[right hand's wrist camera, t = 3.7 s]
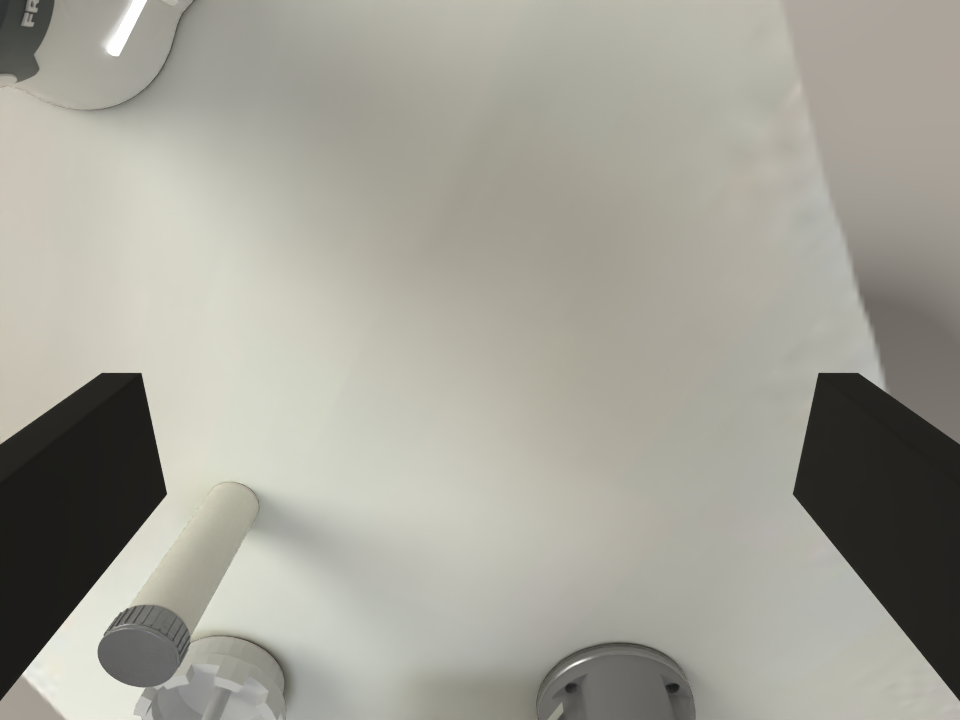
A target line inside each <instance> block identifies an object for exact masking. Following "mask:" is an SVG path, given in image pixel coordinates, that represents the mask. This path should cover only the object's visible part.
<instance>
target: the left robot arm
mask: <svg viewBox="0 0 960 720" xmlns="http://www.w3.org/2000/svg"><path fill="white" fill-rule="evenodd" d="M193 1H194V0H0V87H6V86H9V87H12V88H16V89H19V90H22V91H25V92H27V93H29V94H30V95H32V96H34V97H36V98H38V99H41V100H43V101H45V102H48V103H51V104H54V105H57V106H61V107H65V108H70V109H78V110H95V109H103V108H108V107H112V106H115V105H118V104H120V103H123V102H125V101H127V100H129V99H131V98H132V97H134V96H136V95H137V94H138V93H140V92H141V91H142V90H143V89H145V88H146V87H147V86H148V85H149V84H150V83H151V82H152V81H153V79H154V78H155V77H156V76H157V74H158V73H159V71H160V70H161V68H162V66H163V64H164V63H165V61H166V59H167V56H168V54H169V51H170V49H171V46H172V42H173V38H174V35H175V31H176V28H177V24H178V22H179V19H180V17H181V15H182V13H183V12H184V11H185V10H186V9H187V7H188V6H189V5H190V4H191V3H192V2H193Z"/></svg>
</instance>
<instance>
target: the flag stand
mask: <svg viewBox="0 0 960 720" xmlns="http://www.w3.org/2000/svg"><path fill="white" fill-rule="evenodd" d="M188 649H189V650H188V652H187V654H186V656H185V658H184V659H183V661H182V663H181V665H180V667H179V668H178V669H177V671H176V672H175V673H174V675H173V676H172V677H171V678H170V679H169V680H168V681H167V682H165V683H163V684H161V685H158V686H154V687H146V688H145V690H144V692H143V693H142V695H141V697H140V698H139V700H138V702H137V704H136V706H135V710H134V714H133V715H139V716H141V718H142V720H286V704H285V700H284V697H283V692H284V684H285V681H284V676H283V673H282V670H281V668H280V666H279V665H278V663H277V662H276V661H275V659H274V658H273V657H272V656H271V655H270V654H269V653H267V652H266V651H265V650H263V649H262V648H260V647H259V646H257V645H255V644H253V643H250V642H248V641H246V640H242V639H238V638H234V637H226V636H213V637H207V638H202V639H199V640H197V641H194V642H192V643H191V644H190V646H189V648H188Z"/></svg>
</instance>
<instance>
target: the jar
mask: <svg viewBox="0 0 960 720" xmlns="http://www.w3.org/2000/svg"><path fill="white" fill-rule="evenodd" d="M258 511H259V503H258V500H257V498H256V496H255V494H254V493H253V492H252V491H251V490H250V489H249V488H247V487H245V486H244V485H241V484H238V483H233V482H226V483H222V484H219V485H217V486H215V487H214V488H213V489H212V490H211V491H210V492H209V494H208V495H207V497H206V498H205V499H204V501H203V502H202V504H201V505H200V507H199V508H198V509H197V511H196V512H195V514H194V515H193V517H192V518H191V519H190V521H189V522H188V524H187V525H186V527H185V528H184V529H183V531H182V532H181V534H180V535H179V537H178V538H177V539H176V541H175V542H174V544H173V545H172V547H171V548H170V549H169V551H168V552H167V554H166V555H165V556H164V558H163V559H162V561H161V562H160V564H159V565H158V566H157V568H156V569H155V571H154V572H153V574H152V575H151V576H150V578H149V579H148V581H147V582H146V584H145V585H144V586H143V588H142V589H141V591H140V592H139V594H138V595H137V596H136V598H135V599H134V601H133V602H132V604H131V605H130V606H129V608H131V607H133V606H137V605H154V606H159V607H162V608H165V609H167V610H169V611H171V612H173V613H174V614H176V615H177V616H178V617H179V618H181V619H182V621H183V622H184V623H185V624H186V626H187V628H188V630H189V633H190V636H191V635H192V633H193V631H194V629H195V628H196V626H197V624H198V622H199V620H200V618H201V617H202V615H203V613H204V611H205V609H206V608H207V606H208V604H209V602H210V600H211V598H212V597H213V595H214V593H215V591H216V589H217V587H218V586H219V584H220V582H221V580H222V578H223V576H224V575H225V573H226V571H227V569H228V567H229V565H230V564H231V562H232V560H233V558H234V556H235V554H236V553H237V551H238V549H239V547H240V545H241V543H242V542H243V540H244V538H245V536H246V534H247V532H248V531H249V529H250V527H251V525H252V523H253V521H254V520H255V518H256V516H257V514H258Z"/></svg>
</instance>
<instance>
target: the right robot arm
mask: <svg viewBox="0 0 960 720" xmlns="http://www.w3.org/2000/svg"><path fill="white" fill-rule="evenodd" d="M166 495H167V492H166V487H165V482H164V477H163V473H162V468H161V463H160V459H159V454H158V449H157V444H156V440H155V435H154V430H153V426H152V421H151V416H150V411H149V407H148V402H147V397H146V393H145V388H144V383H143V378H142V374H141V373H101V374H100V375H98V376H97V377H96V378H94V379H93V380H91V381H90V382H88V383H87V384H86V385H84V386H83V387H81V388H80V389H78V390H77V391H76V392H74V393H73V394H71V395H70V396H69V397H67V398H66V399H64V400H63V401H61V402H60V403H59V404H57V405H56V406H54V407H53V408H52V409H50V410H49V411H47V412H46V413H44V414H43V415H42V416H40V417H39V418H37V419H36V420H34V421H33V422H32V423H30V424H29V425H27V426H26V427H25V428H23V429H22V430H20V431H19V432H17V433H16V434H15V435H13V436H12V437H10V438H9V439H8V440H6V441H5V442H3V443H2V444H0V701H1V699H2V698H3V697H4V696H5V694H6V693H7V692H8V691H9V689H10V688H11V687H12V686H13V684H14V683H15V682H16V681H17V679H18V678H19V677H20V676H21V675H22V673H23V672H24V671H25V670H26V668H27V667H28V666H29V665H30V663H31V662H32V661H33V660H34V658H35V657H36V656H37V655H38V654H39V652H40V651H41V650H42V649H43V647H44V646H45V645H46V644H47V642H48V641H49V640H50V639H51V637H52V636H53V635H54V634H55V632H56V631H57V630H58V629H59V627H60V626H61V625H62V624H63V623H64V621H65V620H66V619H67V618H68V616H69V615H70V614H71V613H72V611H73V610H74V609H75V608H76V606H77V605H78V604H79V603H80V601H81V600H82V599H83V598H84V597H85V595H86V594H87V593H88V592H89V590H90V589H91V588H92V587H93V585H94V584H95V583H96V582H97V580H98V579H99V578H100V577H101V575H102V574H103V573H104V572H105V571H106V569H107V568H108V567H109V566H110V564H111V563H112V562H113V561H114V559H115V558H116V557H117V556H118V554H119V553H120V552H121V551H122V549H123V548H124V547H125V546H126V545H127V543H128V542H129V541H130V540H131V538H132V537H133V536H134V535H135V533H136V532H137V531H138V530H139V528H140V527H141V526H142V525H143V523H144V522H145V521H146V520H147V518H148V517H149V516H150V515H151V514H152V512H153V511H154V510H155V509H156V507H157V506H158V505H159V504H160V502H161V501H162V500H163V499H164V497H165V496H166ZM793 495H794V496H795V497H796V499H797V500H798V501H799V502H800V504H801V505H802V506H803V507H804V509H805V510H806V511H807V512H808V514H809V515H810V516H811V517H812V518H813V520H814V521H815V522H816V523H817V525H818V526H819V527H820V528H821V530H822V531H823V532H824V533H825V535H826V536H827V537H828V538H829V540H830V541H831V542H832V543H833V545H834V546H835V547H836V548H837V549H838V551H839V552H840V553H841V554H842V556H843V557H844V558H845V559H846V561H847V562H848V563H849V564H850V566H851V567H852V568H853V569H854V571H855V572H856V573H857V574H858V575H859V577H860V578H861V579H862V580H863V582H864V583H865V584H866V585H867V587H868V588H869V589H870V590H871V592H872V593H873V594H874V595H875V597H876V598H877V599H878V600H879V601H880V603H881V604H882V605H883V606H884V608H885V609H886V610H887V611H888V613H889V614H890V615H891V616H892V618H893V619H894V620H895V621H896V623H897V624H898V625H899V626H900V627H901V629H902V630H903V631H904V632H905V634H906V635H907V636H908V637H909V639H910V640H911V641H912V642H913V644H914V645H915V646H916V647H917V649H918V650H919V651H920V652H921V654H922V655H923V656H924V657H925V658H926V660H927V661H928V662H929V663H930V665H931V666H932V667H933V668H934V670H935V671H936V672H937V673H938V675H939V676H940V677H941V678H942V680H943V681H944V682H945V683H946V684H947V686H948V687H949V688H950V689H951V691H952V692H953V693H954V694H955V696H956V697H957V698H958V699H959V701H960V444H958V443H957V442H955V441H954V440H952V439H951V438H950V437H948V436H947V435H945V434H944V433H943V432H941V431H940V430H938V429H937V428H935V427H934V426H933V425H931V424H930V423H928V422H927V421H925V420H924V419H923V418H921V417H920V416H918V415H917V414H916V413H914V412H913V411H911V410H910V409H908V408H907V407H906V406H904V405H903V404H901V403H900V402H899V401H897V400H896V399H894V398H893V397H891V396H890V395H889V394H887V393H886V392H884V391H883V390H882V389H880V388H879V387H877V386H876V385H874V384H873V383H872V382H870V381H869V380H867V379H866V378H864V377H863V376H862V375H860V374H859V373H819V374H818V378H817V383H816V388H815V393H814V397H813V402H812V407H811V411H810V416H809V421H808V426H807V430H806V435H805V440H804V444H803V449H802V454H801V459H800V463H799V468H798V473H797V477H796V482H795V487H794V492H793ZM537 713H538V720H695V705H694V700H693V695H692V692H691V689H690V686H689V684H688V681H687V679H686V677H685V675H684V673H683V672H682V670H681V669H680V668H679V666H678V665H677V664H676V663H675V662H674V661H672V660H671V659H670V658H668V657H667V656H665V655H663V654H662V653H660V652H658V651H655V650H653V649H650V648H647V647H643V646H639V645H633V644H606V645H600V646H595V647H591V648H588V649H585V650H582V651H579V652H577V653H575V654H573V655H571V656H569V657H567V658H566V659H564V660H563V661H561V662H560V663H559V664H558V665H556V666H555V667H554V668H553V669H552V670H551V671H550V673H549V674H548V675H547V676H546V678H545V679H544V681H543V683H542V685H541V687H540V689H539V692H538V697H537Z"/></svg>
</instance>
